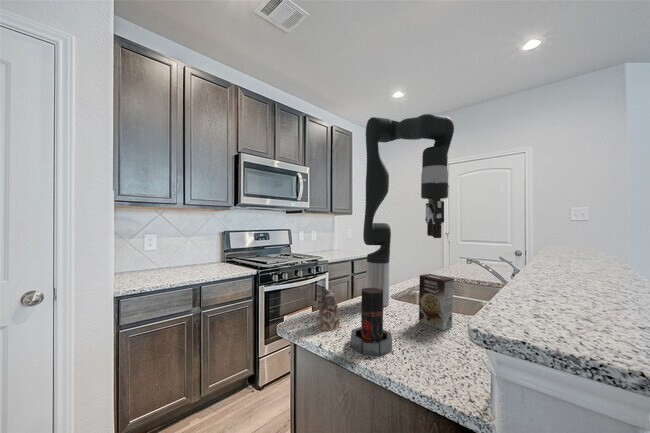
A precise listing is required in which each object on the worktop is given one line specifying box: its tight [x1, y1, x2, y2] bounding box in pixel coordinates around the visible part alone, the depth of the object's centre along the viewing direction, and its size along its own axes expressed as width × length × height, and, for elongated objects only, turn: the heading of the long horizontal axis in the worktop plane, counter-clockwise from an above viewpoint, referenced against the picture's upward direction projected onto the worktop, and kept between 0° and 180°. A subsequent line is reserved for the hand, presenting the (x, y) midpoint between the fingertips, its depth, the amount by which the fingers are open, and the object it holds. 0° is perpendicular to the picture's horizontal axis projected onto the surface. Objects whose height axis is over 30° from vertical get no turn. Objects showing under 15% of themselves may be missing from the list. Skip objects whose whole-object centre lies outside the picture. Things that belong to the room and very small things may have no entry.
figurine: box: [316, 287, 340, 332], centre depth 91 cm, size 7×7×12 cm
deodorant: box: [360, 287, 384, 342], centre depth 78 cm, size 6×6×15 cm
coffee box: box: [418, 273, 455, 331], centre depth 94 cm, size 9×6×16 cm
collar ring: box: [350, 327, 393, 357], centre depth 78 cm, size 11×11×3 cm
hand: (433, 236), depth 84 cm, fingers open, 8 cm apart
